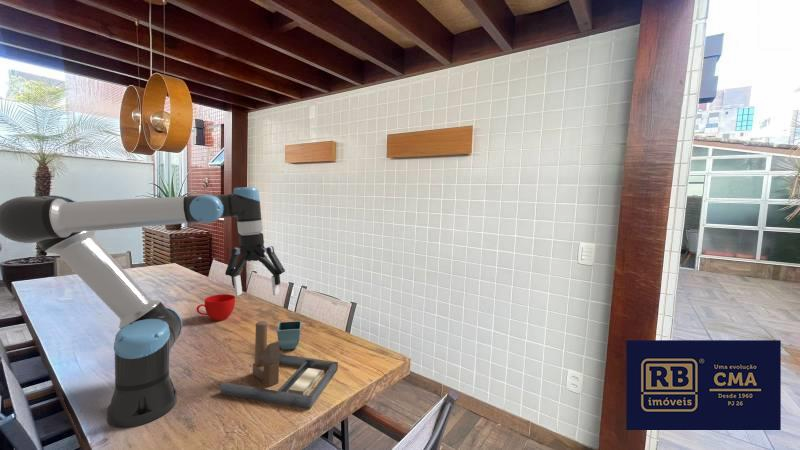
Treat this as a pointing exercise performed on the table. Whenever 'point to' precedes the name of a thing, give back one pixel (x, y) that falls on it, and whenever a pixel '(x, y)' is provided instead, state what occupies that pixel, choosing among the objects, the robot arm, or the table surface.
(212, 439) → the table surface
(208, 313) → the ceramic cup
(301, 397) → the tray
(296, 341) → the flower pot
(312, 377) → the offcut stack
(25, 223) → the robot arm
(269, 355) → the wooden block
